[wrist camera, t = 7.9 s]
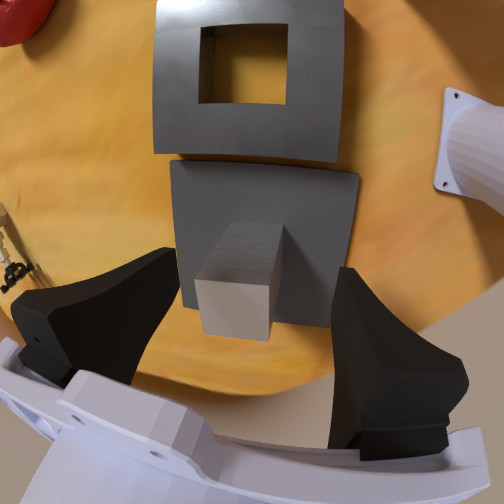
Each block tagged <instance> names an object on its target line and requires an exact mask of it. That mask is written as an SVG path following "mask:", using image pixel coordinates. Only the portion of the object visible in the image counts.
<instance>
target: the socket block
mask: <svg viewBox="0 0 504 504" xmlns="http://www.w3.org/2000/svg"><path fill="white" fill-rule="evenodd" d="M239 35H286V36H288V55H287V83H286V105H280V104H258V103H213V84H214V52H215V37H222V36H239ZM343 74H344V0H157V10H156V22H155V35H154V53H153V144H154V154H231V155H251V156H267V157H280V158H291V159H302V160H311V161H320V162H328V163H336V164H337V158H338V148H339V137H340V125H341V111H342V95H343Z"/></svg>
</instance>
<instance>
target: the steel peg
mask: <svg viewBox="0 0 504 504" xmlns="http://www.w3.org/2000/svg"><path fill="white" fill-rule="evenodd" d="M282 267H283V225H280V224H258V223H233V222H231V223H230V225H229V226H228V228H227V229H226V231H225V232H224V234H223V235H222V237H221V238H220V240H219V242H218V243H217V245H216V246H215V248H214V249H213V251H212V252H211V254H210V255H209V257H208V258H207V260H206V262H205V263H204V265H203V266H202V268H201V269H200V271H199V272H198V274H197V276H196V277H195V279H194V282H195V288H196V294H197V300H198V305H199V311H200V316H201V322H202V327H203V332H204V334H210V335H218V336H225V337H233V338H241V339H250V340H259V341H269V338H270V333H271V328H272V323H273V318H274V313H275V307H276V302H277V297H278V292H279V286H280V281H281V276H282Z"/></svg>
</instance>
